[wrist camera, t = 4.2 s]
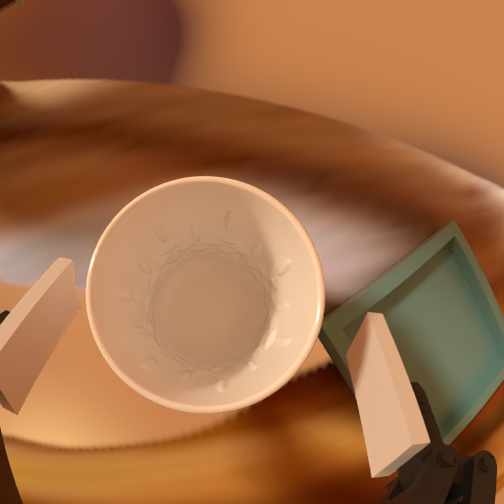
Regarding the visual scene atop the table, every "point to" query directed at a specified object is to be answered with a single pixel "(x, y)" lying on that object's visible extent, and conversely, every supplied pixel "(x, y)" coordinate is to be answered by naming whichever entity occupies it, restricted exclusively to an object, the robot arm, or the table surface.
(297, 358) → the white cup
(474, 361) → the tray
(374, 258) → the table surface
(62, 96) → the table surface
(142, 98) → the table surface
